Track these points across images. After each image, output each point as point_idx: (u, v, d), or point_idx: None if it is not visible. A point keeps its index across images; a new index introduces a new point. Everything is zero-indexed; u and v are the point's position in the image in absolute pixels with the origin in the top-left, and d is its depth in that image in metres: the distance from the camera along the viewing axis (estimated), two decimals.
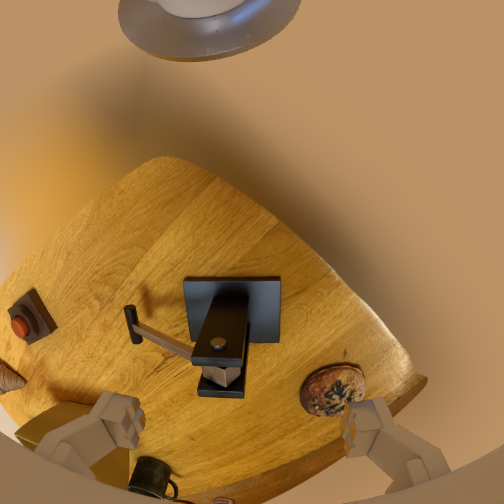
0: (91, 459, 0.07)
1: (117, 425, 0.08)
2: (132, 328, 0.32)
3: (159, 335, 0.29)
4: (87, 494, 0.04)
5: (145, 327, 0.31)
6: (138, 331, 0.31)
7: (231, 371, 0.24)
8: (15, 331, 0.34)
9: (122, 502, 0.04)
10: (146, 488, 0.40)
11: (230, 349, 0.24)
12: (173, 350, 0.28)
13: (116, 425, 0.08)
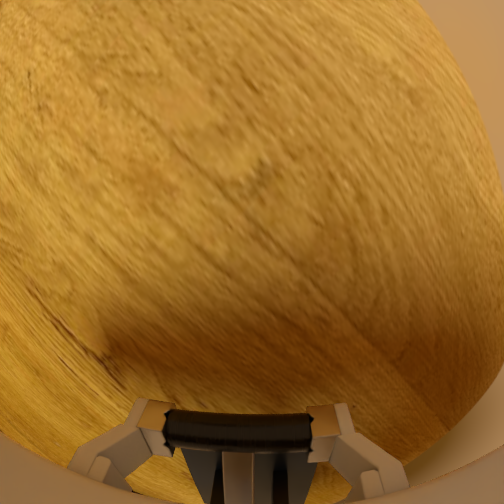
0: (126, 470, 0.07)
1: (157, 433, 0.08)
2: (235, 453, 0.08)
3: None
4: (87, 494, 0.04)
5: None
6: (234, 476, 0.08)
7: None
8: None
9: (122, 502, 0.04)
10: None
11: None
12: None
13: (156, 433, 0.08)
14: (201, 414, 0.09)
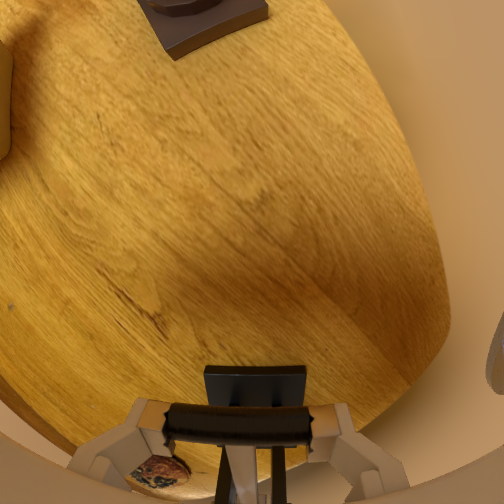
0: (126, 470, 0.07)
1: (156, 433, 0.08)
2: (236, 446, 0.09)
3: (256, 479, 0.11)
4: (87, 494, 0.04)
5: (255, 456, 0.10)
6: (237, 456, 0.09)
7: None
8: None
9: (122, 502, 0.04)
10: None
11: None
12: (244, 497, 0.11)
13: (156, 433, 0.08)
14: (199, 416, 0.08)
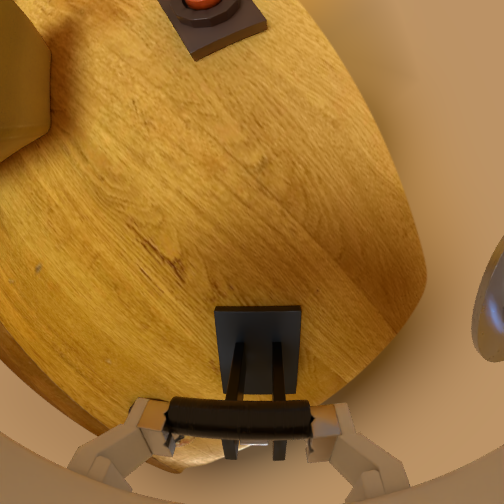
0: (126, 470, 0.07)
1: (157, 433, 0.08)
2: None
3: None
4: (87, 494, 0.04)
5: None
6: None
7: None
8: None
9: (122, 502, 0.04)
10: None
11: None
12: None
13: (156, 433, 0.08)
14: (199, 420, 0.08)
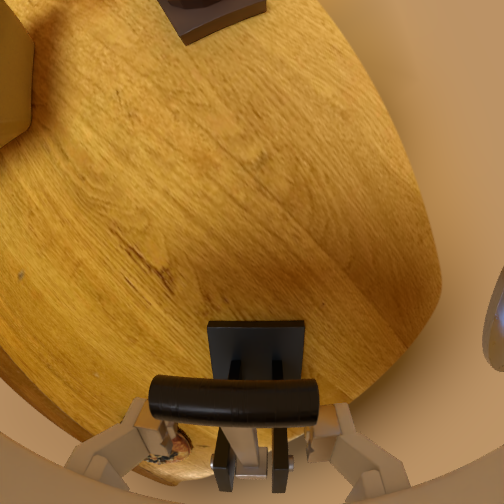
0: (123, 469, 0.07)
1: (154, 433, 0.08)
2: None
3: (256, 443, 0.11)
4: (87, 494, 0.04)
5: None
6: (234, 431, 0.08)
7: None
8: None
9: (122, 502, 0.04)
10: None
11: None
12: (244, 458, 0.12)
13: (153, 432, 0.08)
14: (186, 396, 0.07)
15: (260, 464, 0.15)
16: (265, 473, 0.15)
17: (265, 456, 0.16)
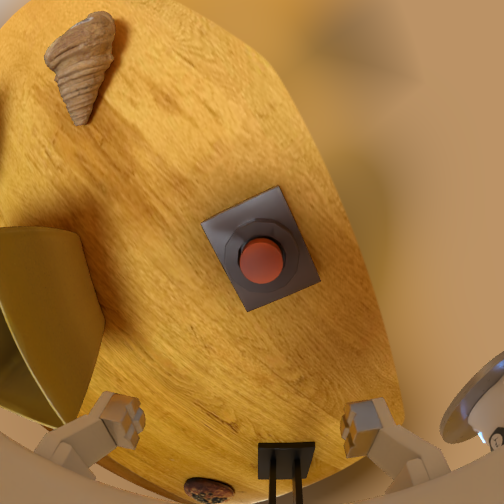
0: (91, 459, 0.07)
1: (117, 425, 0.08)
2: None
3: None
4: (87, 494, 0.04)
5: None
6: None
7: None
8: (254, 253, 0.23)
9: (122, 502, 0.04)
10: None
11: None
12: None
13: (116, 425, 0.08)
14: None
15: None
16: None
17: None
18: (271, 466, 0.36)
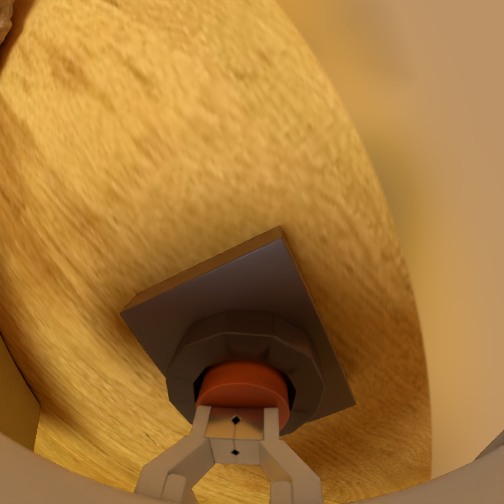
0: (190, 483, 0.07)
1: (227, 441, 0.08)
2: None
3: None
4: (87, 494, 0.04)
5: None
6: None
7: None
8: (225, 400, 0.09)
9: (122, 502, 0.04)
10: None
11: None
12: None
13: (227, 441, 0.08)
14: None
15: None
16: None
17: None
18: None
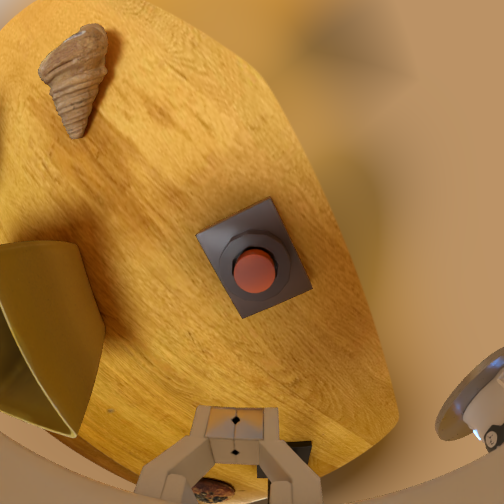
0: (190, 483, 0.07)
1: (227, 441, 0.08)
2: None
3: None
4: (87, 494, 0.04)
5: None
6: None
7: None
8: (247, 264, 0.24)
9: (122, 502, 0.04)
10: None
11: None
12: None
13: (227, 441, 0.08)
14: None
15: None
16: None
17: None
18: None
